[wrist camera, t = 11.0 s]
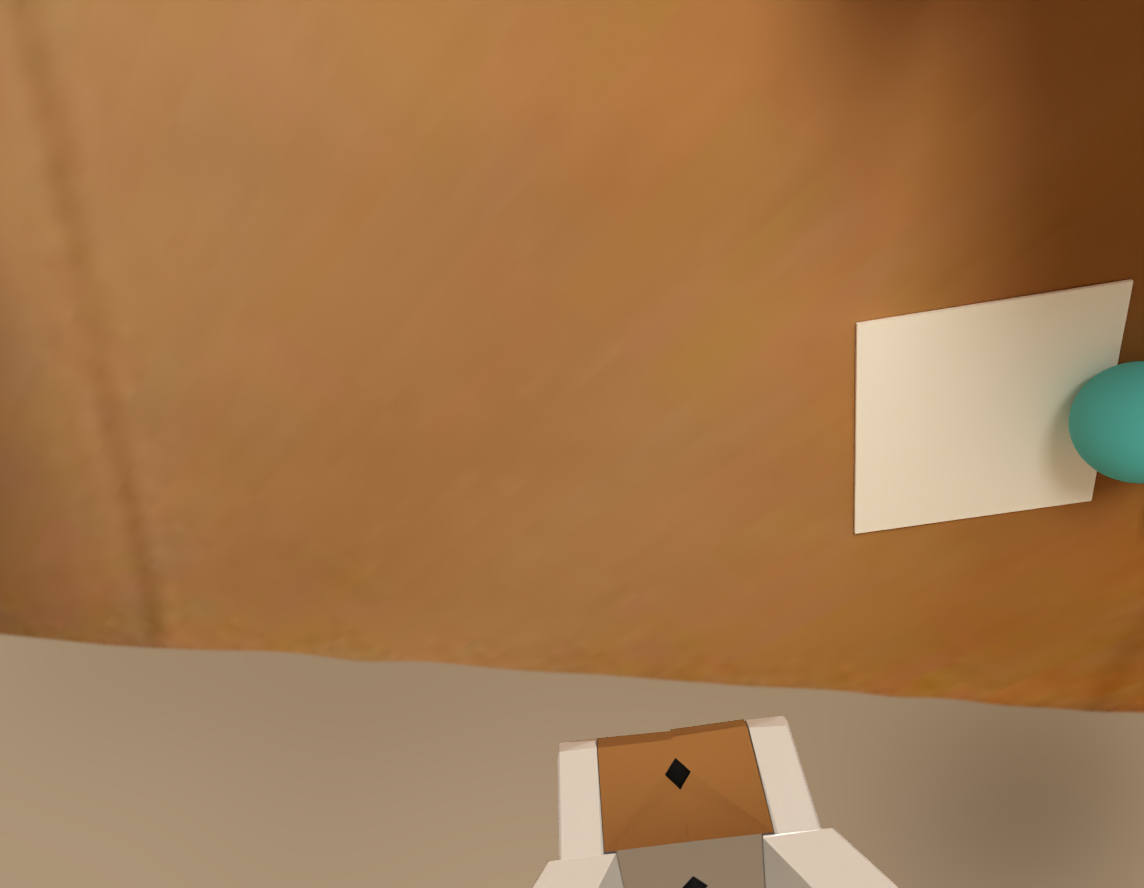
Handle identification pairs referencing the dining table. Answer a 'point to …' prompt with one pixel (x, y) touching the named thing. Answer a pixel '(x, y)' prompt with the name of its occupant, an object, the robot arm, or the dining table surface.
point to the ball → (1111, 422)
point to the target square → (978, 405)
